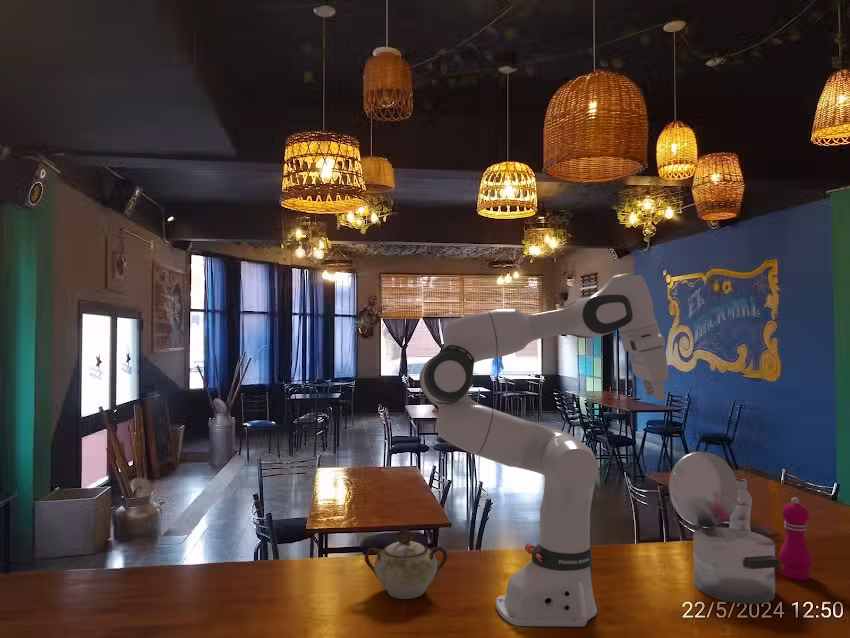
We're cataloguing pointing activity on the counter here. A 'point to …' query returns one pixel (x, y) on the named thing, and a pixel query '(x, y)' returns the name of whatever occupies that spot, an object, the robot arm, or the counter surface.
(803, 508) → the pepper mill
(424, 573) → the sugar bowl
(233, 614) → the counter surface
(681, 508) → the cooker lid
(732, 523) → the silver metal bottle
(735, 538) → the cooker pot
